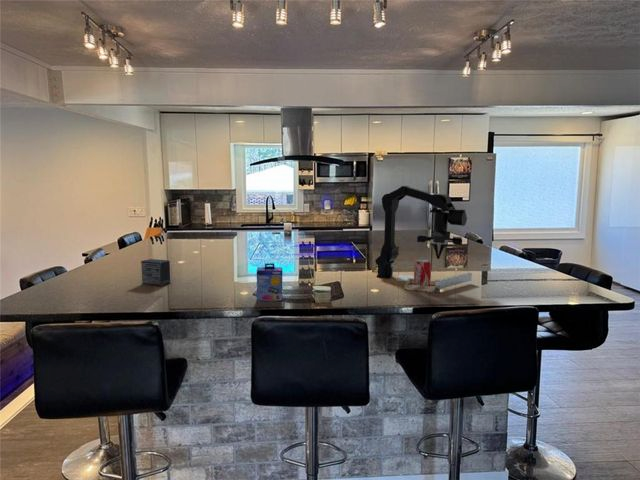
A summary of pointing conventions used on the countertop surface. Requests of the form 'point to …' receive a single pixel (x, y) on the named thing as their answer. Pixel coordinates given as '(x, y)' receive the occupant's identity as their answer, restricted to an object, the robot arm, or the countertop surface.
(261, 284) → the ink cartridge box
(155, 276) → the small box
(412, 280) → the frame
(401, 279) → the pad
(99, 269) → the countertop surface
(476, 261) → the countertop surface
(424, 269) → the soda can
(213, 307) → the countertop surface
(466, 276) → the latch bar
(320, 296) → the stacked layers on plate
